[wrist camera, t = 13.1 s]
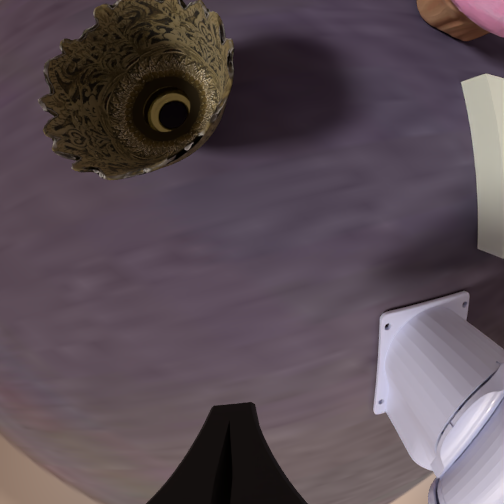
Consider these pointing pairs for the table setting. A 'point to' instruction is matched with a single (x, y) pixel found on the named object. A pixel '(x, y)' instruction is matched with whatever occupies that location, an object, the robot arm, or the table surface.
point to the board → (488, 157)
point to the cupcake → (464, 17)
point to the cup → (138, 86)
